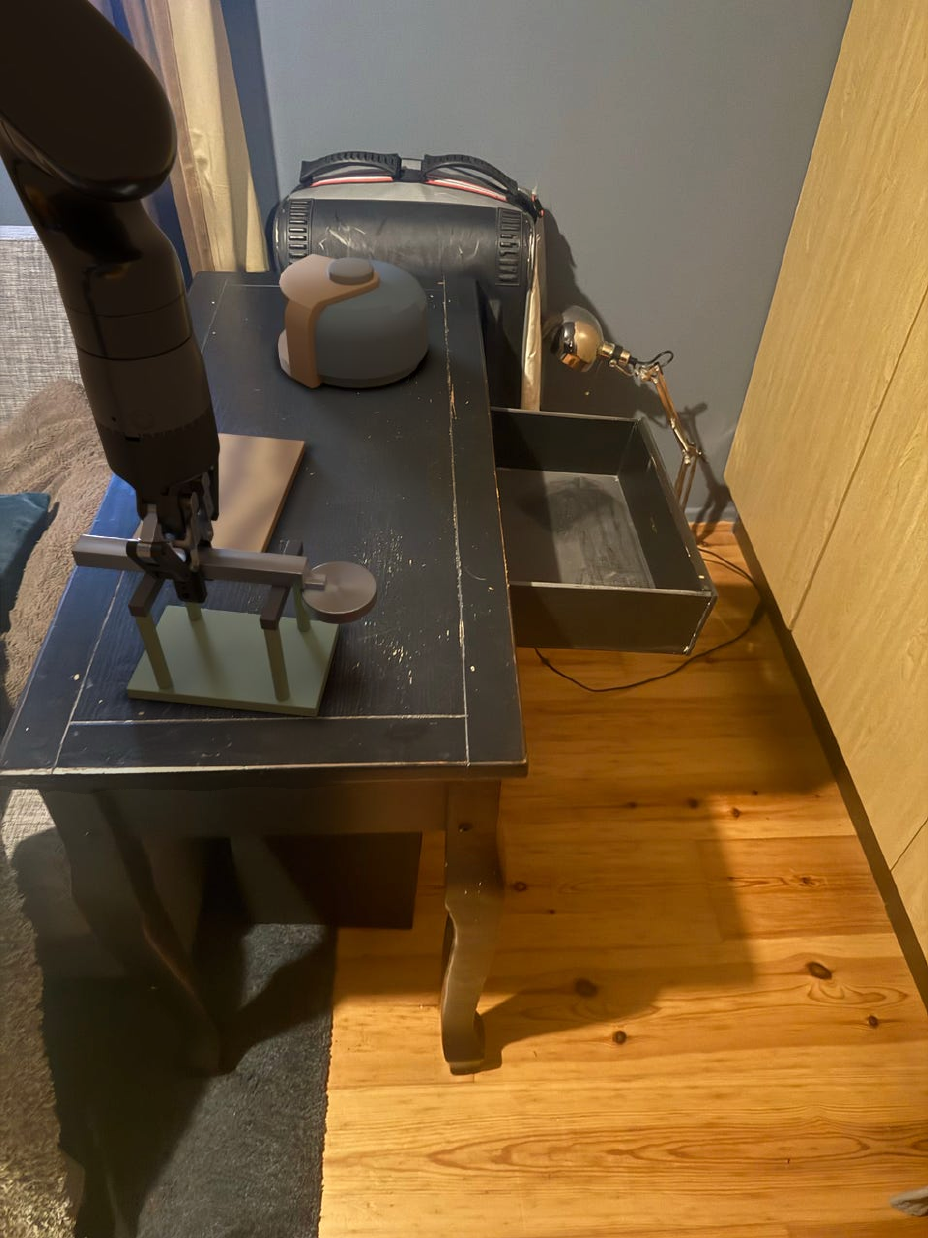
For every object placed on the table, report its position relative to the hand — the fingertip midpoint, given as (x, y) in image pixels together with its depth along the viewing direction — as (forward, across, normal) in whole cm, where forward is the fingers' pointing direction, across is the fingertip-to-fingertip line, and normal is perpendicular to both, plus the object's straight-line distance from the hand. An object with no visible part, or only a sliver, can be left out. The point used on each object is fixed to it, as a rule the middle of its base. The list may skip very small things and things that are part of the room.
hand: (198, 588), depth 66 cm
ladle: (-1, 0, +3) cm, 3 cm away
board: (+9, -22, -6) cm, 24 cm away
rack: (+9, 0, +2) cm, 9 cm away
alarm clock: (+9, -56, +2) cm, 57 cm away
